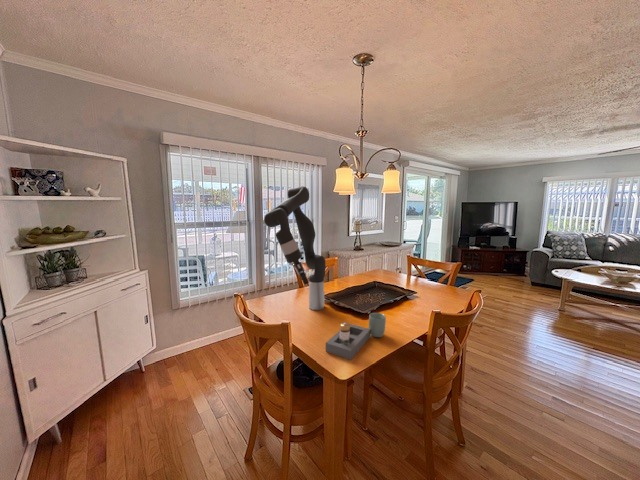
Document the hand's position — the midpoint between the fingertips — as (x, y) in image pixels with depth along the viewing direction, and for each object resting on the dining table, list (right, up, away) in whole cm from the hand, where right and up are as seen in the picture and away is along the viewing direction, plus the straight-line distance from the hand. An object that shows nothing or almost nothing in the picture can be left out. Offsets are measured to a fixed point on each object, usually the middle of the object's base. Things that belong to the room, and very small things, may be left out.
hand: (305, 281), depth 121 cm
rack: (+20, -28, -3) cm, 35 cm away
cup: (+34, -27, +4) cm, 44 cm away
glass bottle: (+18, -27, -7) cm, 33 cm away
